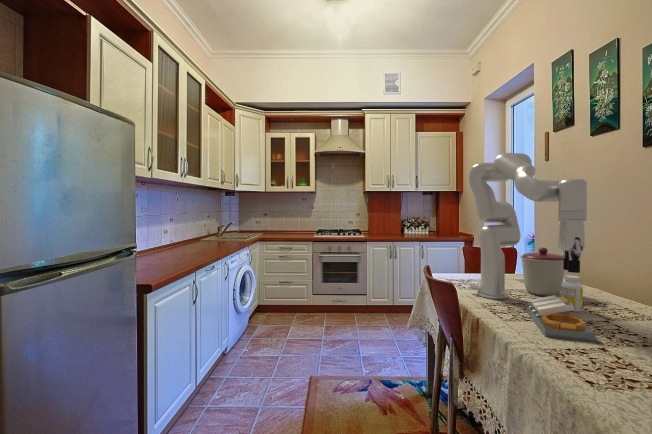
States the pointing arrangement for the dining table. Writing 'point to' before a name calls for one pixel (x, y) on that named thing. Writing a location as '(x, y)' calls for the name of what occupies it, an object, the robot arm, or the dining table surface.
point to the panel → (561, 325)
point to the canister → (543, 272)
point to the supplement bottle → (573, 292)
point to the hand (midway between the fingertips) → (571, 270)
